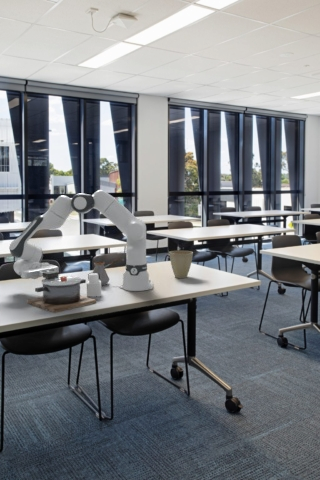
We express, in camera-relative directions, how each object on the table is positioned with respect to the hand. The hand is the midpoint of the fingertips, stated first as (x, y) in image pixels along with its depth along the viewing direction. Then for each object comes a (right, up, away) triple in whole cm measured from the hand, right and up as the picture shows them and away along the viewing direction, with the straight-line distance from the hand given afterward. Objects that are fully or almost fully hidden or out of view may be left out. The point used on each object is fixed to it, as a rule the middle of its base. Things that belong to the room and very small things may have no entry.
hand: (48, 274), depth 235 cm
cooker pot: (+9, -12, -7) cm, 17 cm away
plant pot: (+71, -6, +54) cm, 89 cm away
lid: (+8, -3, -7) cm, 11 cm away
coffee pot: (+26, -8, +37) cm, 46 cm away
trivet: (+9, -14, -7) cm, 18 cm away
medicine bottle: (+23, -12, +9) cm, 27 cm away
